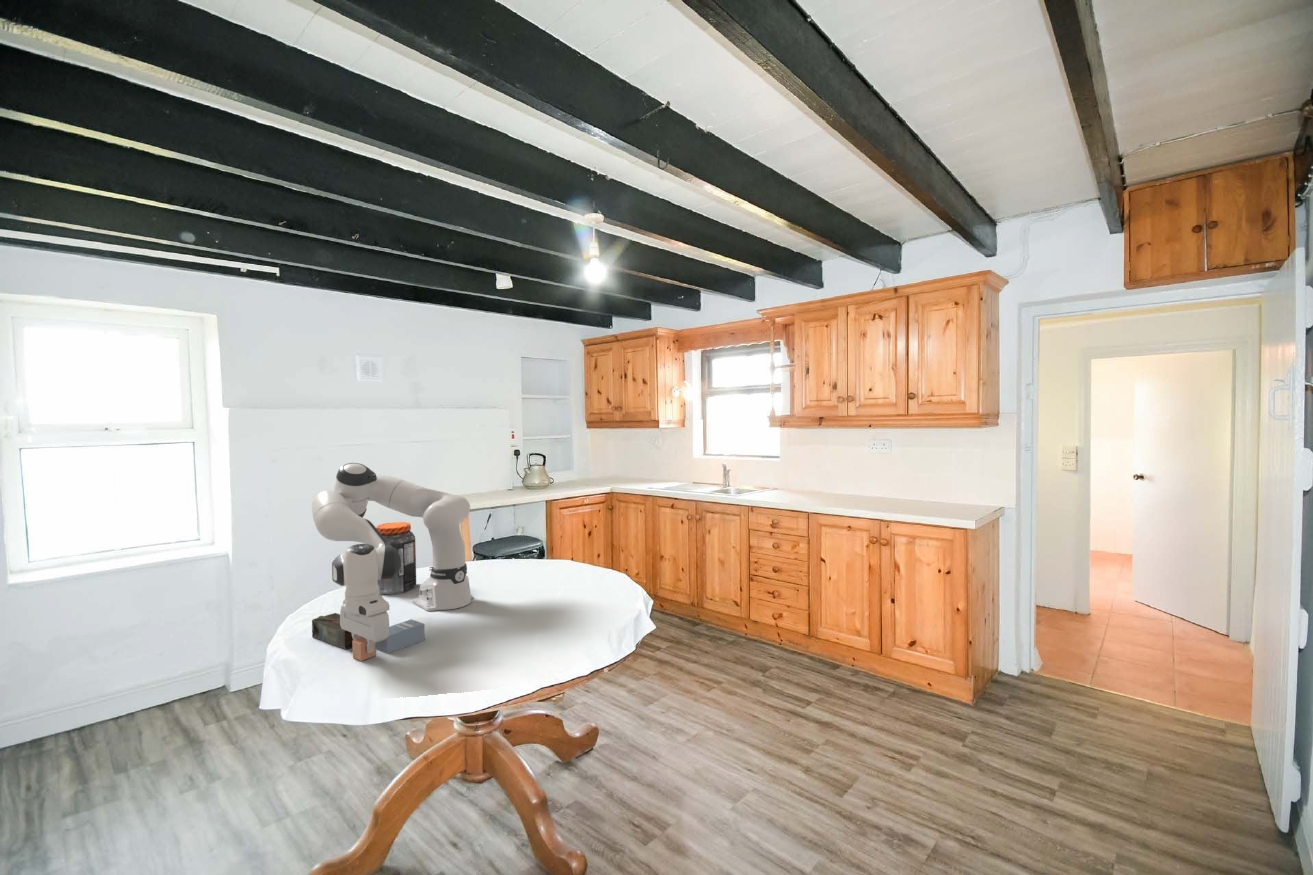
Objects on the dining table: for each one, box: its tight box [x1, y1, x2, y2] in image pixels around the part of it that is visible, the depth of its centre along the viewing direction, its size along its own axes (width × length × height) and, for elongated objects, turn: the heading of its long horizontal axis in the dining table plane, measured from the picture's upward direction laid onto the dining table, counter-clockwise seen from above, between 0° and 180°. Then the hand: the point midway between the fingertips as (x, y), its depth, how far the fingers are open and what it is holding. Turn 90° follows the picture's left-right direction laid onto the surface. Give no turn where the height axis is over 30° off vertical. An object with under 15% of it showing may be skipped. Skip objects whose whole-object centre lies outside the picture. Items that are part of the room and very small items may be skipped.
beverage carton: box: [311, 612, 362, 650], centre depth 176 cm, size 8×19×7 cm, turn 58°
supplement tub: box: [375, 521, 417, 595], centre depth 225 cm, size 16×16×26 cm
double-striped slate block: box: [376, 619, 426, 654], centre depth 171 cm, size 7×12×5 cm, turn 146°
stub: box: [351, 637, 377, 662], centre depth 162 cm, size 4×4×5 cm
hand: (364, 649), depth 162 cm, fingers closed on stub, 4 cm apart
